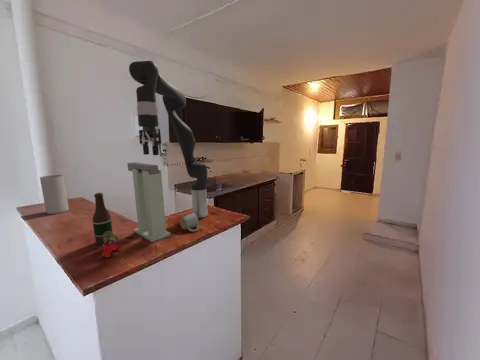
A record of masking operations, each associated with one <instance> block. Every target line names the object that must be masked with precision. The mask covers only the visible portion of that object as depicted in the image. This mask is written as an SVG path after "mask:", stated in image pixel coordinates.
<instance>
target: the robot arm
mask: <svg viewBox="0 0 480 360" xmlns="http://www.w3.org/2000/svg"><path fill="white" fill-rule="evenodd" d="M128 72H129V75H130V77H131V78H132V79H133V80H134V81H135V82H137V83H138V84H141V86H138V87H137V88H136V90H135V91H136V92H135V93H136V94H135V95H136V104H137V105H136V106H137V107H136V111H137V122H138V124H137V125H138V127H140V128H142V129H139V130H138V133H139V134H138V136H139V145H141V146H142V152H143V155H145V156H146V155H150V148H149V144H150V143H151V148H152V150H151V151H152V155H153V156H158V155H159V154H160V153H159V152H160V151H159V146H160V145H161V144H162V137H161V136H162V135H161V129H160V128H158V127H159V116H158V115H159V114H158V107H157V100H156V99H157V98H156V97H157V96H156V94H157V95H161V96H162V102H163V106H164V108H165V110H166V112H167V114H168V116H169V120H170V122H171V124H172V127H173V130H174V133H175V136H176V139H177V142H178V144H179V147H180V150H181V152H182V156H183V161H184V165H185V168H186V173H187V174H188V176H189V177H190V178H193V179H196V182H194V183H192V184H191V188H190V189H191V200H192V201H191V202H192V203H191V205H192V213H195V214H196V215H197V217H198V219H199V218H206V217H207V216H208V214H209V213H208V195H207V190H208V189H207V185H208V168H207V167H208V166H207V165H206V164H205V163H202V162H201V163H199V162H196V161H195V157H194V151H195V147H196V139H195V136H194V133H193V131H192V129H191V128H190V127H189V126H188V125H187V124H186V123H185V122H184V121H183V120H182V119H181V118H180V117H179V116H178V114H177V112H176V111H178V110H182V109H184V108H186V106H187V99H186V96H185V94H184V92H183V91H182V90H180V89H179V88H178V87H175V86H174V85H172V84H171V83H169V82H168V81H167V80H166V79H165V78H164V77H163V76H162V75H161V74H160V73H159V69H158V66H157V64H156V63H155V62H154V61H153V60H139V61H138V60H137V61H132V62H131V63H130V64H129V66H128Z"/></svg>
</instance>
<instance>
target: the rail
mask: <svg viewBox="0 0 480 360" xmlns="http://www.w3.org/2000/svg"><path fill="white" fill-rule="evenodd" d="M132 169H137V170H139V173H142V171H149V174H150V175H152V174H158V170H159V165H158V164H151V163H144V162H136V161H135V162H127V170H128V171H129V172H132Z"/></svg>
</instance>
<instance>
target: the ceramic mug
mask: <svg viewBox="0 0 480 360" xmlns="http://www.w3.org/2000/svg"><path fill="white" fill-rule="evenodd" d="M199 224H200V221H199V218H198V217H197V215H196V214H195V213H193V212H191V213H189V214H187V215H184V216H181V218H180V219H179V226H180V227H181V229H182V230H184V231H187V230H188V231H189V232H193V233H196V232H197V231H198V230H199ZM194 228H195V229H194Z"/></svg>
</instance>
